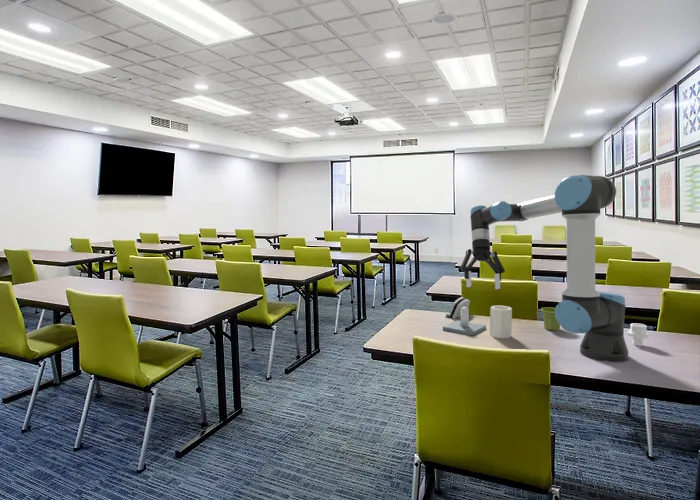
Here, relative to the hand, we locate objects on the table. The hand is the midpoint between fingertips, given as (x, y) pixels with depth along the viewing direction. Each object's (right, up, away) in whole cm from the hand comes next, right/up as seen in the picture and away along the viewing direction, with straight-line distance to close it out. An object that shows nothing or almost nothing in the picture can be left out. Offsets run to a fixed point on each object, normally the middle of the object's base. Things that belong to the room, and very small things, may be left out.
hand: (483, 287), depth 178 cm
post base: (-6, -19, +8) cm, 22 cm away
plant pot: (+33, -19, +8) cm, 39 cm away
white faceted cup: (+7, -20, -1) cm, 21 cm away
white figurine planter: (+55, -21, -16) cm, 61 cm away
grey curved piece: (-2, -17, +35) cm, 39 cm away
